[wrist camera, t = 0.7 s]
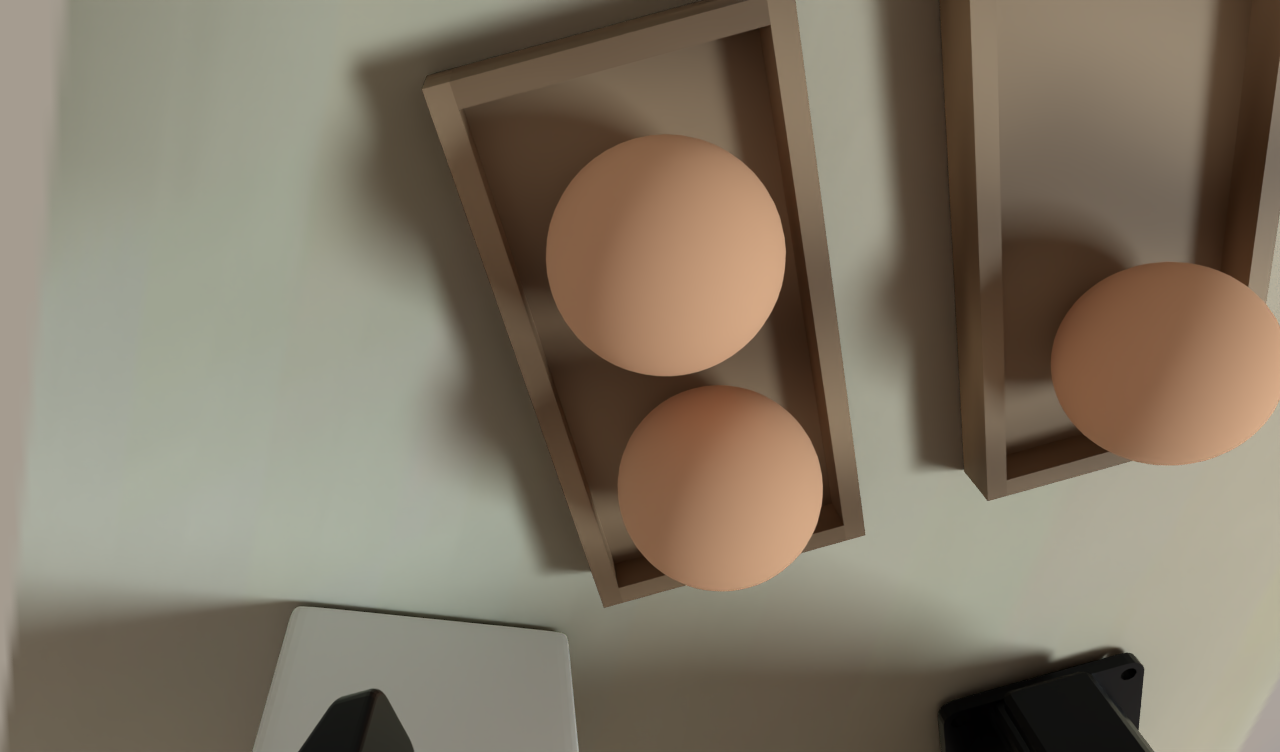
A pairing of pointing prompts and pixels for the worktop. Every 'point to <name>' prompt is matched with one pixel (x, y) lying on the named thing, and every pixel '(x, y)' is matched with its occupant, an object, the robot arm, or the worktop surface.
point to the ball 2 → (720, 488)
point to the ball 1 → (665, 255)
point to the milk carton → (425, 681)
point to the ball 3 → (1168, 363)
